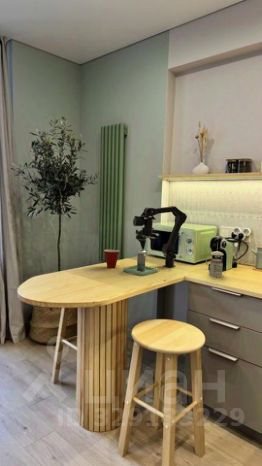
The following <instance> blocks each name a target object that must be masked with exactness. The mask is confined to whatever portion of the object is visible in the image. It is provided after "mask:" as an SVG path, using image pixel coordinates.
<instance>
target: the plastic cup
mask: <svg viewBox="0 0 262 466" xmlns="http://www.w3.org/2000/svg"><path fill="white" fill-rule="evenodd" d="M103 251H104V254H105V263H106V267H107V268H108V269H116V267H117V263H118V258H119V257H118V256H119V254H120V252H121V251H120V250H119V249H118V250H117V249H104V250H103Z"/></svg>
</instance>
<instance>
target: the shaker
mask: <svg viewBox="0 0 262 466" xmlns="http://www.w3.org/2000/svg"><path fill="white" fill-rule="evenodd" d="M146 253H147V251H146V250H145V249H144V250H142V249H140V250H137V258H136V265H137V271H140V272H144V271H145V266H146V256H147V255H146Z"/></svg>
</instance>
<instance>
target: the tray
mask: <svg viewBox="0 0 262 466" xmlns="http://www.w3.org/2000/svg"><path fill="white" fill-rule="evenodd" d="M122 269H123V271H122V272H125V273H128V274H131V275H135V276H139V277H144V276H148V275H152V274H155V273H159V268H156V267H151V266H147V265H145V271H144V272H140V271H137V264H136V265H132V266H126V267H123V268H122Z"/></svg>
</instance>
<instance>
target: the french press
mask: <svg viewBox="0 0 262 466" xmlns="http://www.w3.org/2000/svg"><path fill="white" fill-rule="evenodd" d="M216 239H220V236H216ZM218 245H219V243H217V248H216V251H212V252H211V253H210V255H208V256H207V257H206V259H205V263H206V265H207V267H209V271H208V273H207V275H208V276H211V277H215V276H217V278H218V277H219V278H220V277H224V275H223V265H224V264H223V263H224V262H223V260H222V259H219V258H212V256H216V257H219V256H221V257H222V256H224V253H223V252H221V251H218V249H219V248H218ZM209 258H210V263H209V265H208V259H209Z"/></svg>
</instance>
